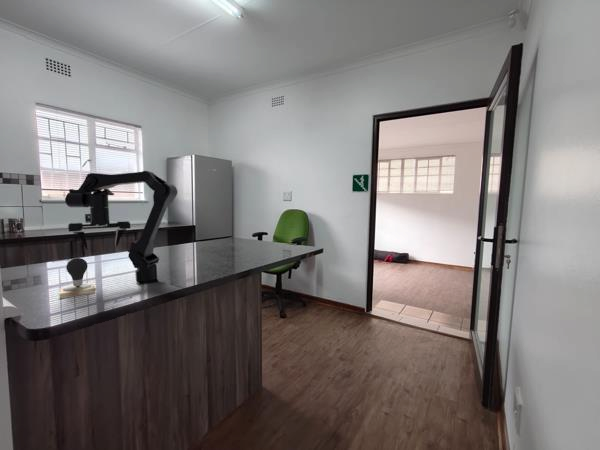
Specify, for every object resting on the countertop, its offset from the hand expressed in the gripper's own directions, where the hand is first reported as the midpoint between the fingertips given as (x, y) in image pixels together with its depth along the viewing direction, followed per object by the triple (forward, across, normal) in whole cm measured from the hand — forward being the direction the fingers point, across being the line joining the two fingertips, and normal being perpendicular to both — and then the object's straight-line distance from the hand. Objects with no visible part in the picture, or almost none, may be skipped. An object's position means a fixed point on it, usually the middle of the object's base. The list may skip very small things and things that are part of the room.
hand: (101, 248), depth 105 cm
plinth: (+13, +8, +9) cm, 18 cm away
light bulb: (+12, +8, +9) cm, 17 cm away
